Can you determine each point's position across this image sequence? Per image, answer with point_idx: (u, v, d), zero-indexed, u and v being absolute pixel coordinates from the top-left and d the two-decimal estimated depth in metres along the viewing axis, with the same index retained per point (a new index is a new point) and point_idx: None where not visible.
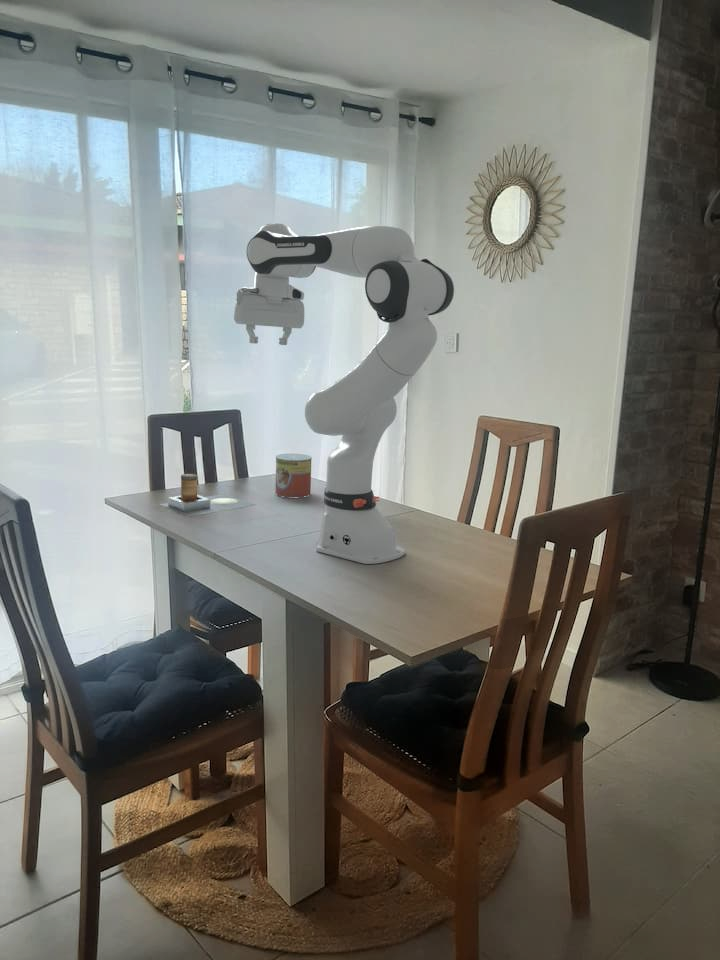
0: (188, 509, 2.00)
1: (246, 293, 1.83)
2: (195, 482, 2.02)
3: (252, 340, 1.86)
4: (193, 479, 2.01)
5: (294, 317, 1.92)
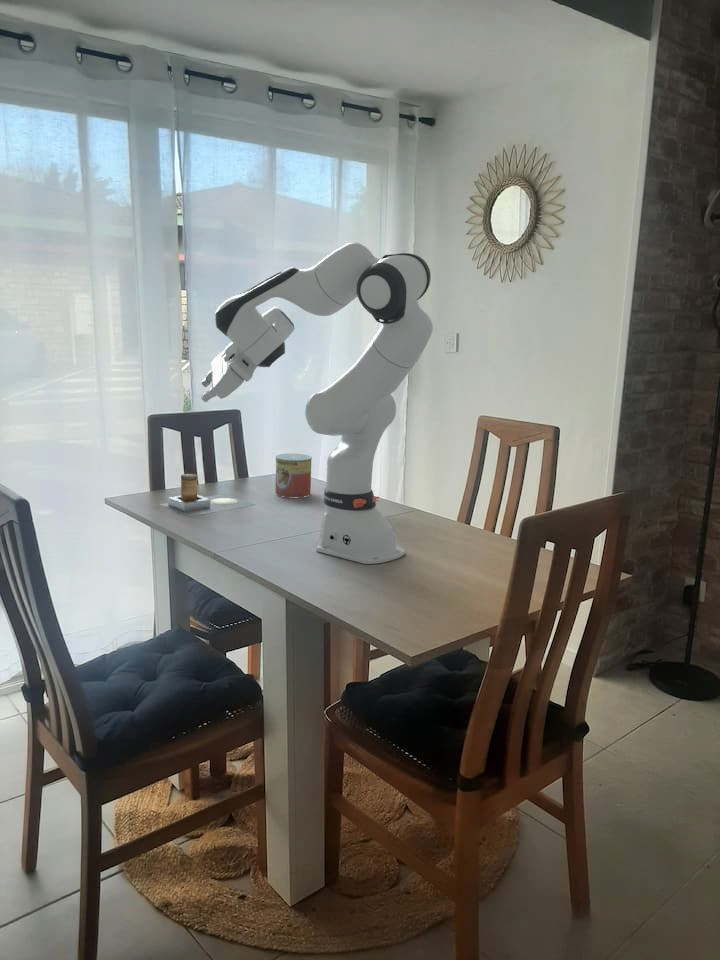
0: (188, 509, 2.00)
1: None
2: (195, 482, 2.02)
3: None
4: (193, 479, 2.01)
5: (218, 379, 1.81)
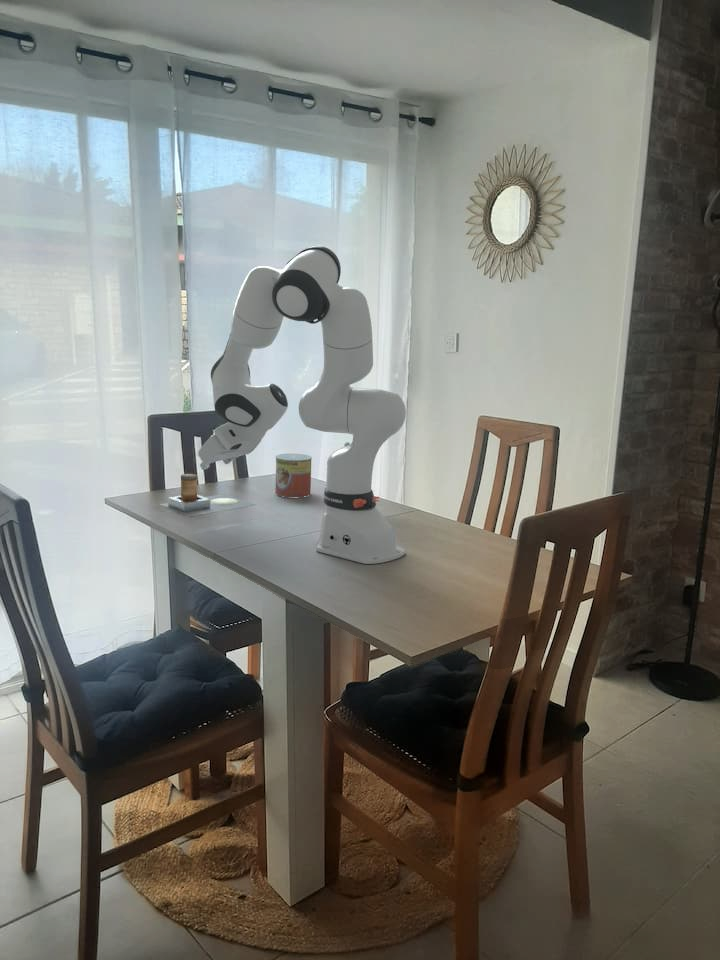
0: (188, 509, 2.00)
1: None
2: (195, 482, 2.02)
3: None
4: (193, 479, 2.01)
5: None
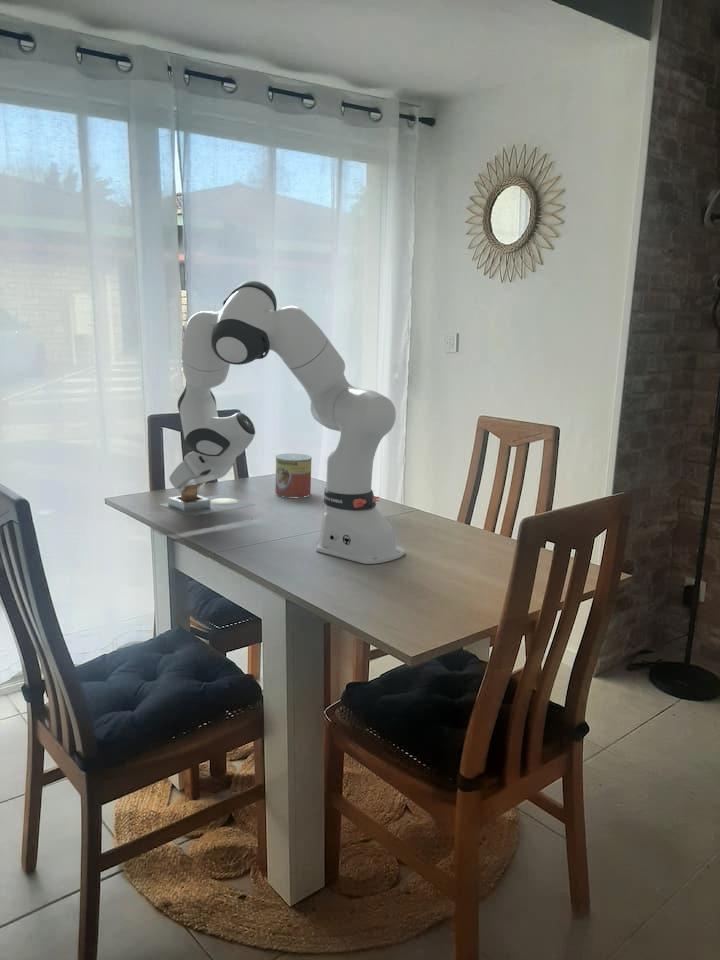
0: (188, 509, 2.00)
1: None
2: None
3: None
4: None
5: None
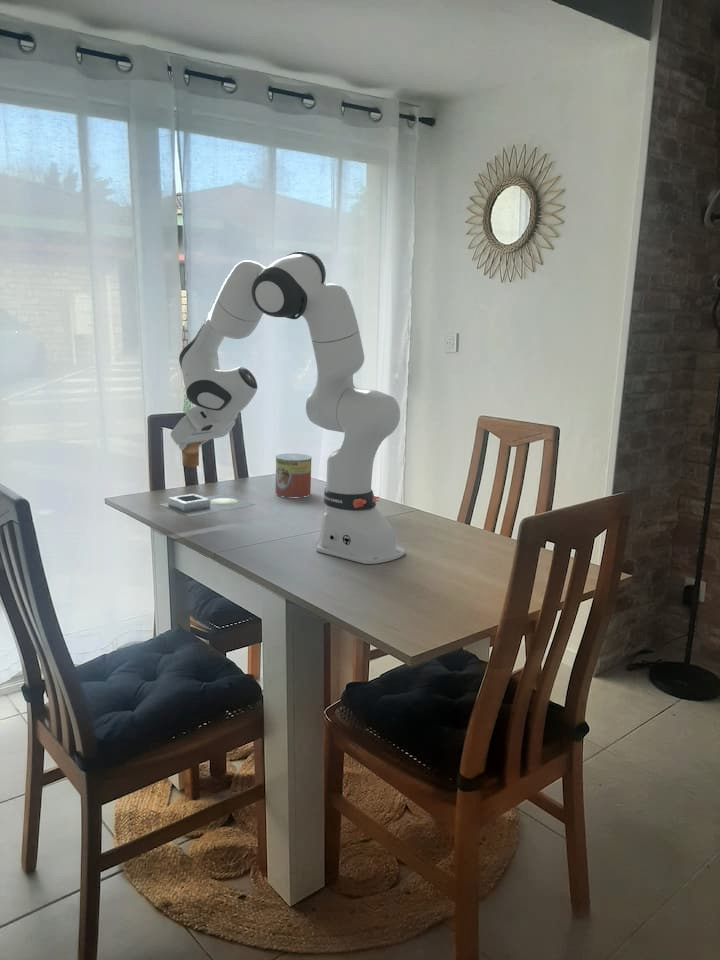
0: (188, 509, 2.00)
1: None
2: None
3: None
4: None
5: None
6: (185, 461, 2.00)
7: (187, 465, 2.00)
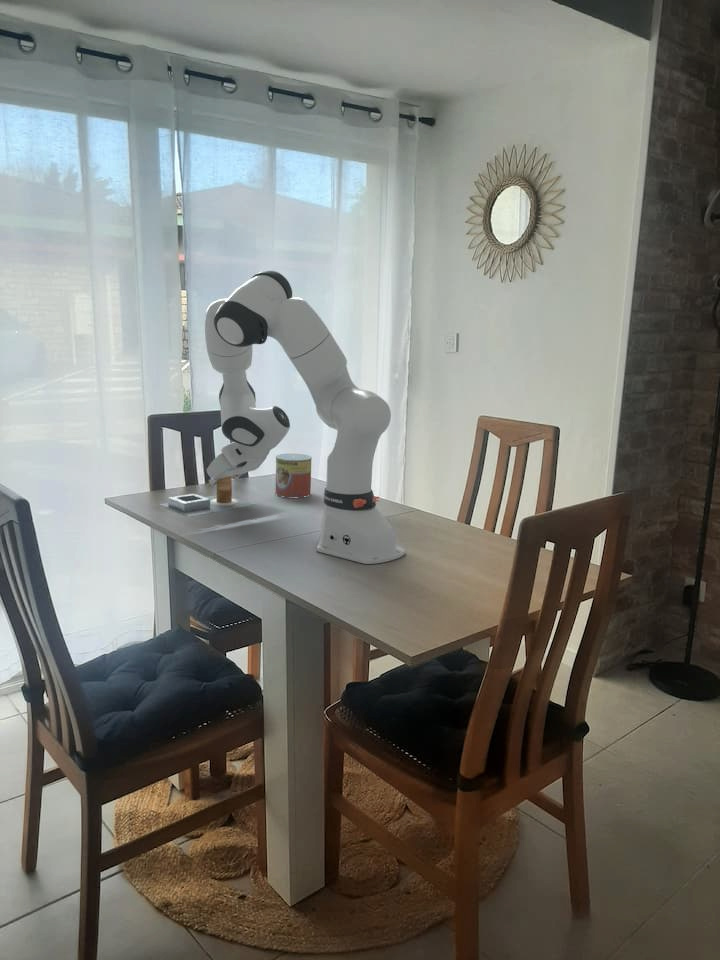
0: (188, 509, 2.00)
1: None
2: (230, 477, 2.09)
3: None
4: None
5: None
6: (219, 498, 2.09)
7: (221, 502, 2.09)
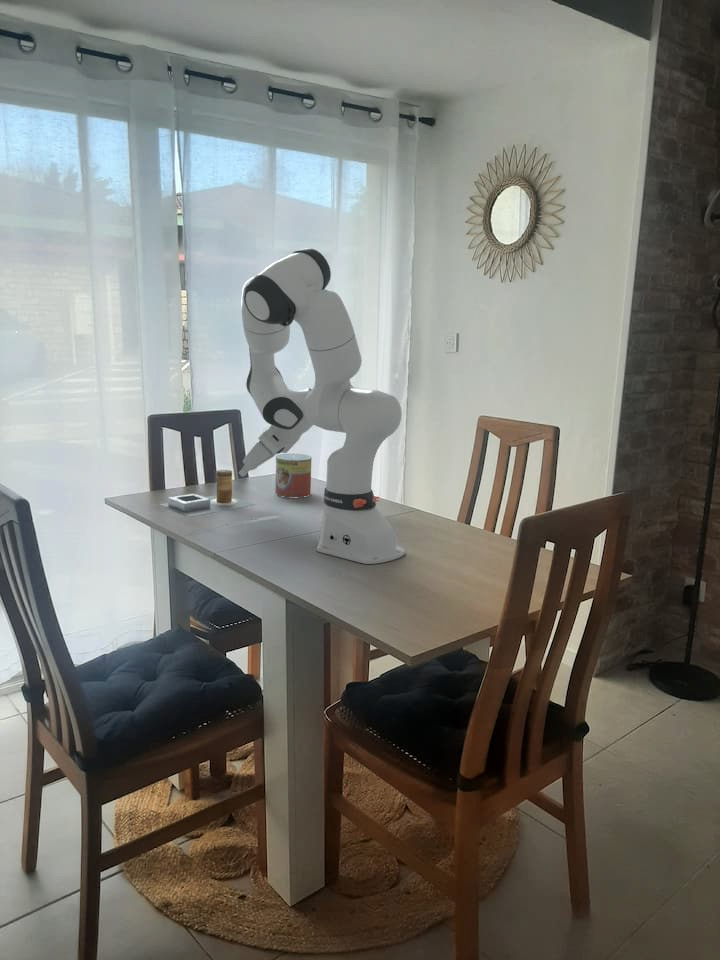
0: (188, 509, 2.00)
1: None
2: (230, 478, 2.09)
3: None
4: (228, 475, 2.08)
5: None
6: (219, 498, 2.09)
7: (221, 502, 2.09)
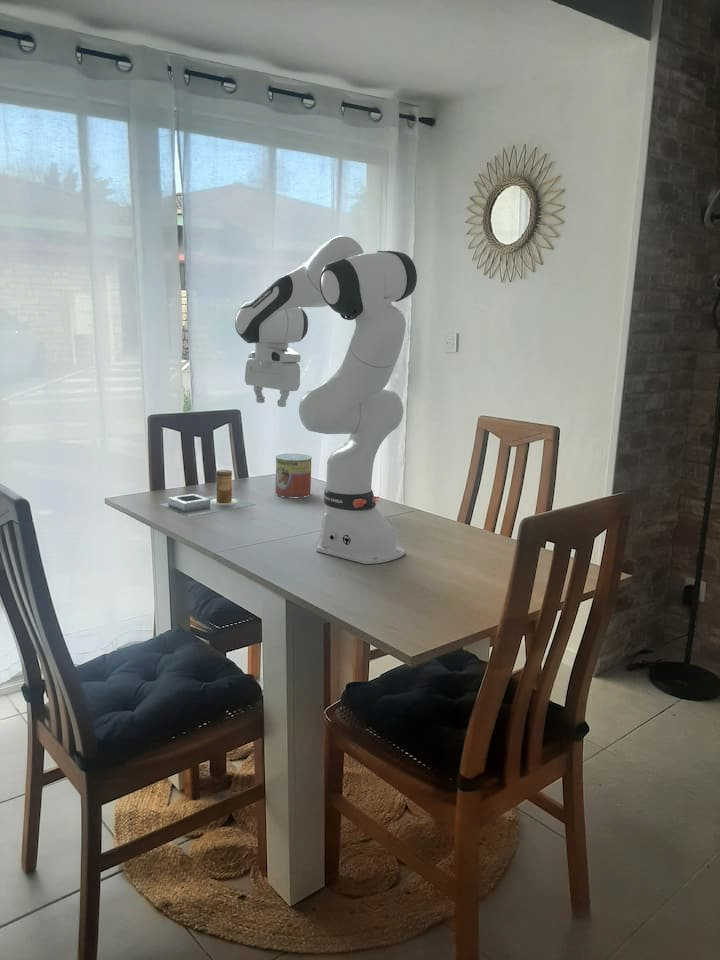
0: (188, 509, 2.00)
1: (253, 357, 2.01)
2: (230, 478, 2.09)
3: None
4: (228, 475, 2.08)
5: (281, 379, 1.91)
6: (219, 498, 2.09)
7: (221, 502, 2.09)
